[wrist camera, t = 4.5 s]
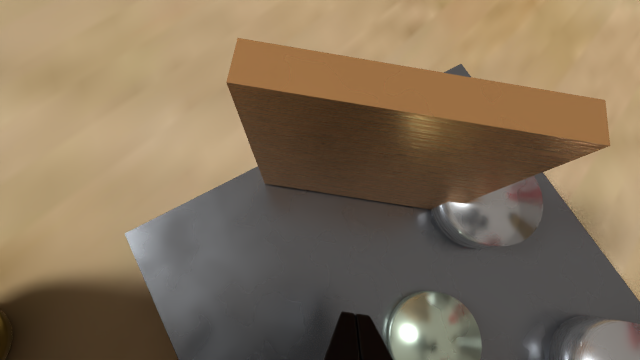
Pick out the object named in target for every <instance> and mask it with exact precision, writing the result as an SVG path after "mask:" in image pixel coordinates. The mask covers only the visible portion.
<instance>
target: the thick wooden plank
mask: <svg viewBox="0 0 640 360" xmlns="http://www.w3.org/2000/svg"><path fill="white" fill-rule="evenodd" d="M227 85H228V88H229V90H230V93H231V96H232V98H233V101H234V103H235V106H236V109H237V111H238V114H239V117H240V119H241V122H242V125H243V127H244V130H245V133H246V135H247V138H248V141H249V143H250V146H251V149H252V151H253V154H254V157H255V159H256V162H257V165H258V167H259V170H260V173H261V175H262V178H263V181H264V183H265V184H272V185H278V186H284V187H291V188H297V189H303V190H310V191H316V192H323V193H329V194H335V195H342V196H348V197H354V198H361V199H367V200H374V201H380V202H386V203H393V204H399V205H405V206H412V207H418V208H425V209H431V212H432V215H433V217H434V220H435V222H436V224H437V225H438V227H439V228H440V229H441V231H442V232H443V233H444V234H445V235H446V236H447V237H448V238H450V239H451V240H453V241H454V242H456V243H458V244H460V245H462V246H465V247H469V248H476V249H479V248H490V247H499V246H508V245H514V244H517V243H520V242H522V241H524V240H525V239H527V238H528V237H529V236H531V235H532V233H533V232H534V231H535V230H536V228H537V227H538V225H539V223H540V221H541V217H542V213H543V198H542V193H541V190H540V187H539V184H538V182H537V180H536V179H535V177H534V175H537V174H539V173H542V172H544V171H547V170H549V169H552V168H554V167H557V166H560V165H562V164H565V163H567V162H570V161H572V160H575V159H577V158H580V157H582V156H585V155H588V154H590V153H593V152H595V151H598V150H600V149H603V148H605V147H608V146H610V140H609V131H608V122H607V113H606V103H605V100H601V99H595V98H589V97H584V96H578V95H572V94H566V93H560V92H554V91H548V90H542V89H536V88H530V87H524V86H519V85H513V84H507V83H501V82H495V81H489V80H483V79H477V78H471V77H465V76H459V75H454V74H448V73H442V72H436V71H430V70H424V69H418V68H412V67H406V66H400V65H394V64H389V63H383V62H377V61H371V60H365V59H359V58H353V57H347V56H341V55H335V54H329V53H324V52H318V51H312V50H306V49H300V48H294V47H288V46H282V45H276V44H270V43H264V42H259V41H253V40H247V39H241V38H238V39H237V43H236V47H235V51H234V55H233V59H232V63H231V67H230V70H229V74H228V78H227Z"/></svg>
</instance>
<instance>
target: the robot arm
mask: <svg viewBox="0 0 640 360" xmlns="http://www.w3.org/2000/svg"><path fill="white" fill-rule="evenodd" d="M323 360H393V358H392V356H391V354H390V352H389V351H388V349H387V347H386V345H385V343H384V341H383V339H382V337H381V336H380V334H379V332H378V330H377V328H376V326H375V324H374V322H373V320H372V319H371V317H370V316H369V315H364V314H356V315H355V314H354V313H351V312H344V311H342V312H341V313H340V316H339V318H338V321H337V324H336V326H335V329H334V332H333V334H332V337H331V340H330V342H329V345H328V347H327V350H326V353H325V355H324V358H323Z"/></svg>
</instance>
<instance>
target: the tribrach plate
mask: <svg viewBox="0 0 640 360" xmlns="http://www.w3.org/2000/svg"><path fill="white" fill-rule="evenodd" d="M444 73H448V74H454V75H459V76H465V77H471V76H470V75H469V74H468V72H467V71H466V70H465V68H464V67H463V66H462V64H460V65H458V66H456V67H454V68H452V69H450V70H448V71H446V72H444ZM534 177H535V179H536V180H537V182H538V184H539V187H540V190H541V193H542V198H543V213H542V217H541V221H540V223H539V225H538V227H537V228H536V230H535V231H534V232H533V233H532V235H531V236H529V237H528V238H527V239H525V240H524V241H522V242H520V243H517V244H514V245H508V246H499V247H490V248H479V249H476V248H469V247H465V246H462V245H460V244H458V243H456V242H454V241H453V240H451V239H450V238H448V237H447V236H446V235H445V234H444V233H443V232H442V231H441V229H440V228H439V227H438V225H437V224H436V222H435V220H434V217H433V215H432V212H431V209H425V208H418V207H412V206H405V205H399V204H393V203H386V202H380V201H374V200H367V199H361V198H354V197H348V196H342V195H335V194H329V193H323V192H316V191H310V190H303V189H297V188H291V187H284V186H278V185H272V184H265V183H264V181H263V178H262V175H261V173H260V170H259V167H256V168H254V169H252V170H250V171H248V172H246V173H244V174H242V175H240V176H238V177H236V178H234V179H232V180H230V181H228V182H226V183H224V184H222V185H220V186H218V187H216V188H214V189H212V190H210V191H208V192H206V193H204V194H202V195H200V196H198V197H196V198H194V199H192V200H190V201H188V202H186V203H184V204H182V205H180V206H178V207H176V208H174V209H172V210H170V211H168V212H166V213H165V214H163V215H161V216H159V217H157V218H155V219H153V220H151V221H149V222H147V223H145V224H143V225H141V226H139V227H137V228H135V229H133V230H131V231H129V232H127V233H125V236H126V238H127V240H128V243H129V245H130V247H131V250H132V252H133V254H134V257H135V259H136V261H137V264H138V266H139V268H140V271H141V273H142V275H143V278H144V280H145V282H146V285H147V287H148V289H149V291H150V294H151V296H152V298H153V301H154V303H155V305H156V308H157V310H158V312H159V315H160V317H161V319H162V322H163V324H164V326H165V329H166V331H167V333H168V336H169V338H170V340H171V343H172V345H173V347H174V350H175V352H176V354H177V357H178V359H179V360H323V358H324V355H325V353H326V350H327V347H328V345H329V342H330V340H331V337H332V334H333V332H334V329H335V326H336V324H337V321H338V318H339V316H340V313H341V312H342V311H344V312H351V313H354V314H355V315H356V314H364V315H369V316H370V317H371V319H372V320H373V322H374V324H375V326H376V328H377V330H378V332H379V334H380V336H381V337H382V339H383V341H384V343H385V345H386V347H387V349H388V351H389V352H390V354H391V356H392V358H393V360H640V302H639V300H638V299H637V298H636V296H635V295H634V294H633V292H632V291H631V290H630V288H629V287H628V286H627V284H626V283H625V282H624V280H623V279H622V278H621V276H620V275H619V274H618V272H617V271H616V270H615V268H614V267H613V266H612V264H611V263H610V262H609V260H608V259H607V258H606V256H605V255H604V254H603V252H602V251H601V250H600V248H599V247H598V246H597V244H596V243H595V242H594V240H593V239H592V238H591V236H590V235H589V234H588V232H587V231H586V230H585V228H584V227H583V226H582V224H581V223H580V222H579V220H578V219H577V218H576V216H575V215H574V214H573V212H572V211H571V210H570V208H569V207H568V206H567V204H566V203H565V202H564V200H563V199H562V198H561V196H560V195H559V194H558V192H557V191H556V190H555V188H554V187H553V186H552V184H551V183H550V182H549V180H548V179H547V178H546V176H545V175H544V174H543V172H542V173H539V174H537V175H534Z"/></svg>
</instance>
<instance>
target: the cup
mask: <svg viewBox="0 0 640 360" xmlns="http://www.w3.org/2000/svg"><path fill="white" fill-rule="evenodd" d="M12 335H13V334H12V326H11V323H10V321H9V319H8V317H7V316H6V315H5V314H4V313H3V312H2V311H1V310H0V360H5V358H6V356H7V354H8V352H9V350H10V347H11V343H12Z"/></svg>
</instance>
